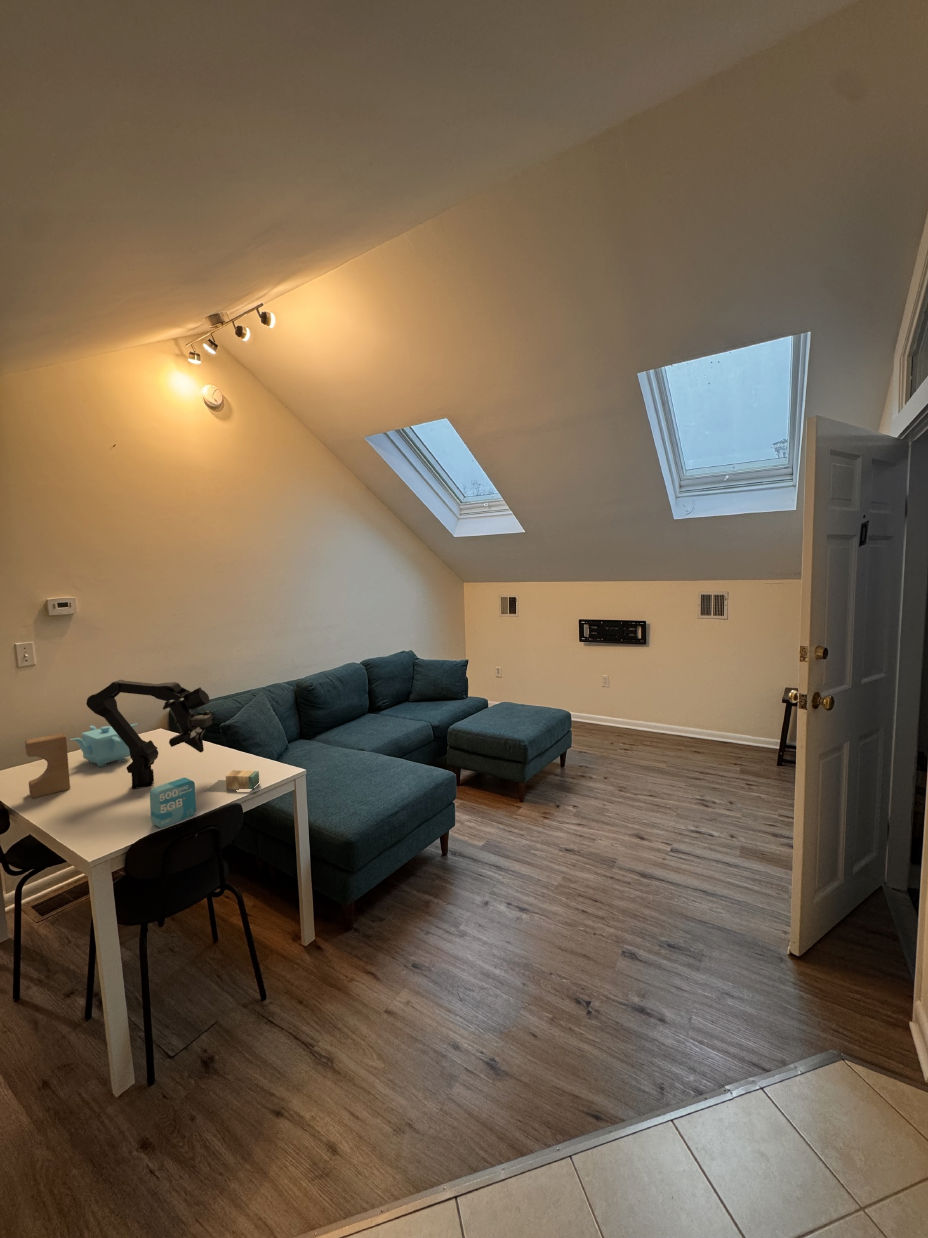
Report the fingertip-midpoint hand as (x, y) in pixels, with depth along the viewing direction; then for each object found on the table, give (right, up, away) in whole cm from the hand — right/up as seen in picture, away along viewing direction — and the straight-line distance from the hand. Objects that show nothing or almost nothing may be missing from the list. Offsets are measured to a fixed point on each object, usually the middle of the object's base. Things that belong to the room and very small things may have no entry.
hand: (202, 751), depth 191 cm
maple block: (+12, -9, -3) cm, 15 cm away
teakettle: (-52, -10, +23) cm, 58 cm away
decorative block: (-52, -13, -6) cm, 54 cm away
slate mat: (+13, -12, -3) cm, 18 cm away
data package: (+5, -15, -27) cm, 31 cm away
